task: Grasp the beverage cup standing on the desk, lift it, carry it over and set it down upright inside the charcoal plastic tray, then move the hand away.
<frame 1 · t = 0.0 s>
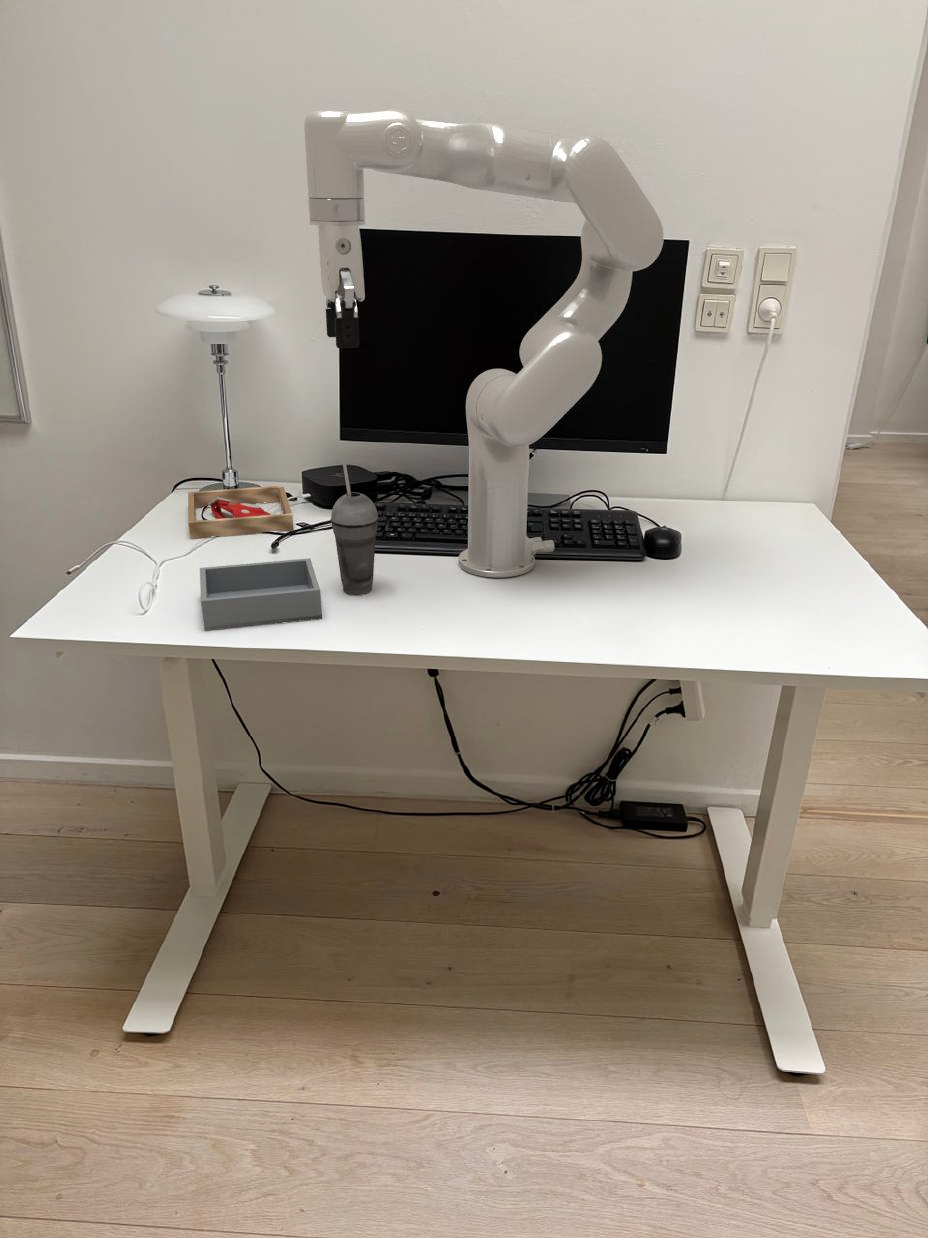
hand: (342, 341, 138), 37 cm above the table, tool pointing down, fingers open, 9 cm apart
beverage cup: (357, 590, 149), on the table
oak organiser frame: (240, 518, 179), on the table
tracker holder: (240, 521, 179), on the table
charcoal tray: (261, 607, 143), on the table
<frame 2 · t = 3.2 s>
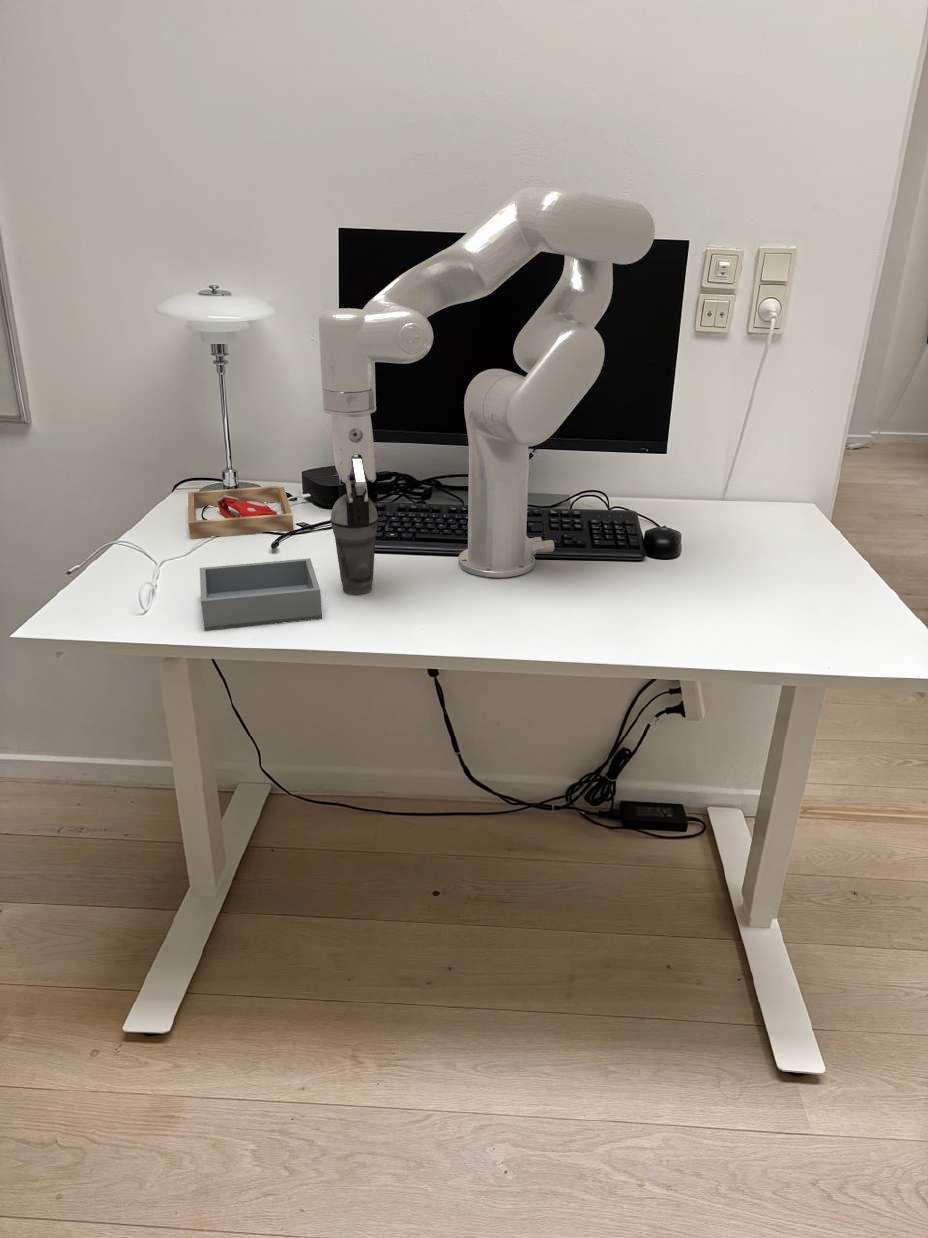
hand: (354, 517, 144), 12 cm above the table, tool pointing down, fingers closed on beverage cup, 7 cm apart
beverage cup: (357, 590, 149), on the table, touching gripper
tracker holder: (247, 519, 180), on the table
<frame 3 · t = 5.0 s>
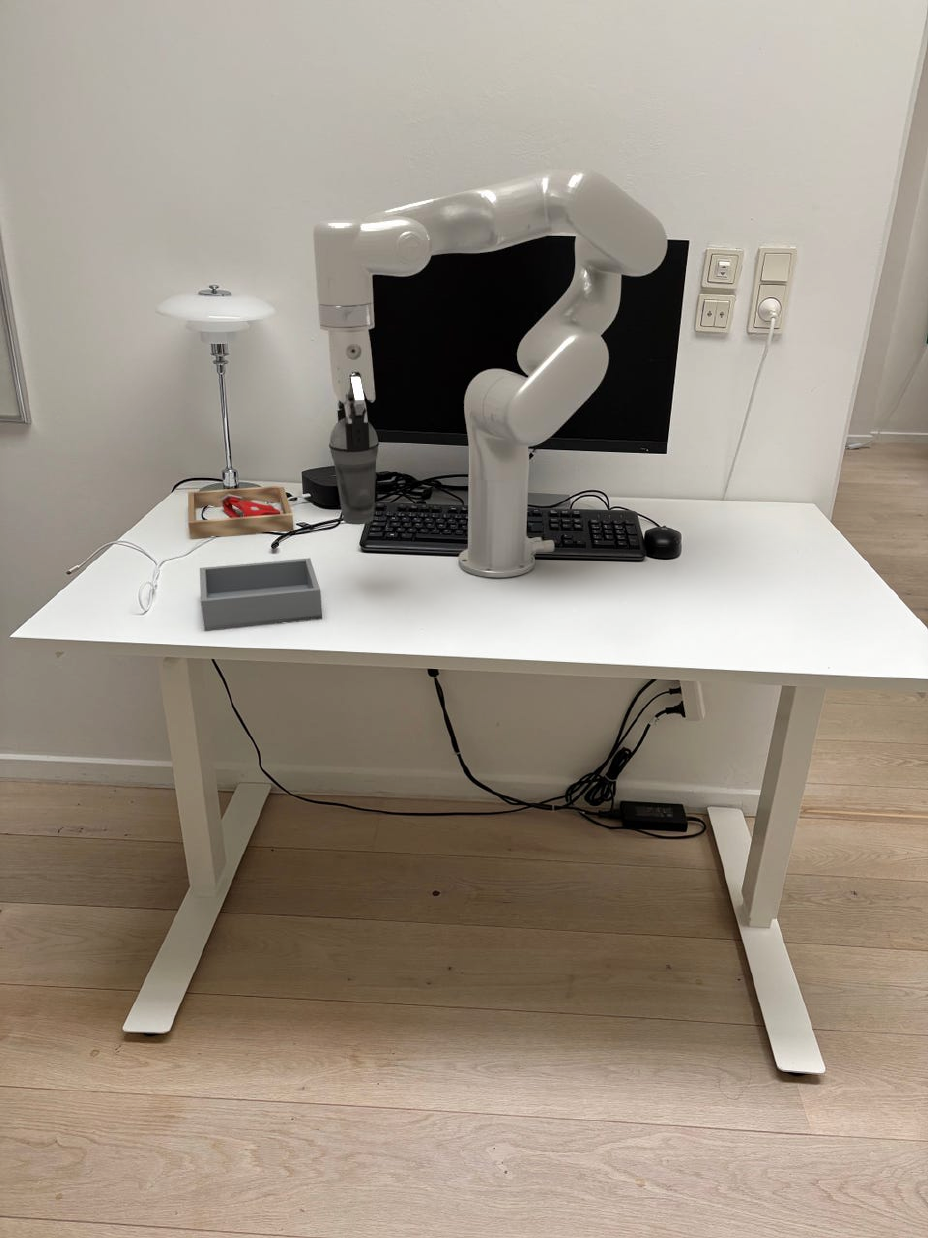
hand: (354, 442, 140), 23 cm above the table, tool pointing down, fingers closed on beverage cup, 7 cm apart
beverage cup: (358, 520, 145), point 11 cm above the table, touching gripper
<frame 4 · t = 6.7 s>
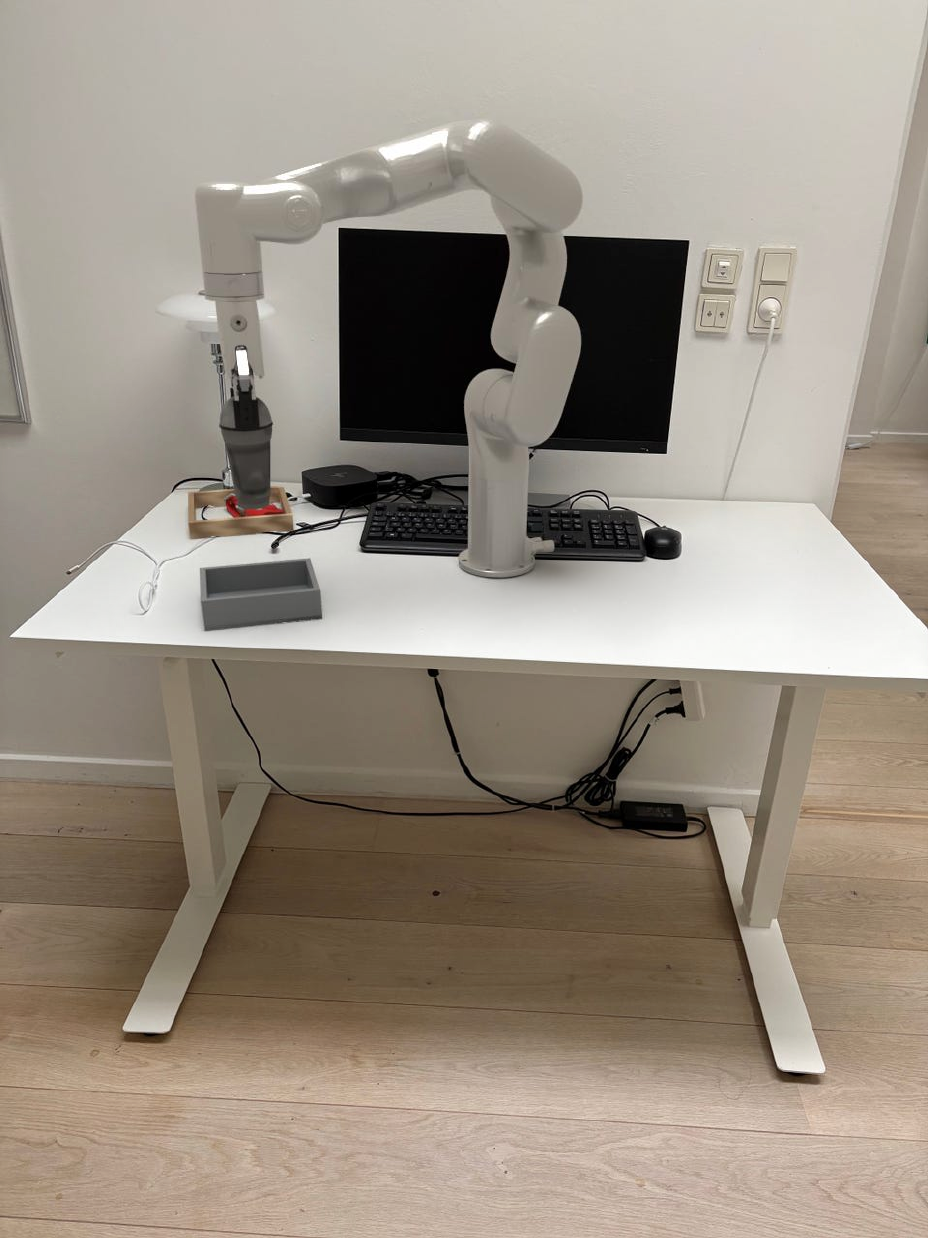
hand: (246, 421, 131), 28 cm above the table, tool pointing down, fingers closed on beverage cup, 7 cm apart
beverage cup: (253, 505, 137), point 16 cm above the table, touching gripper
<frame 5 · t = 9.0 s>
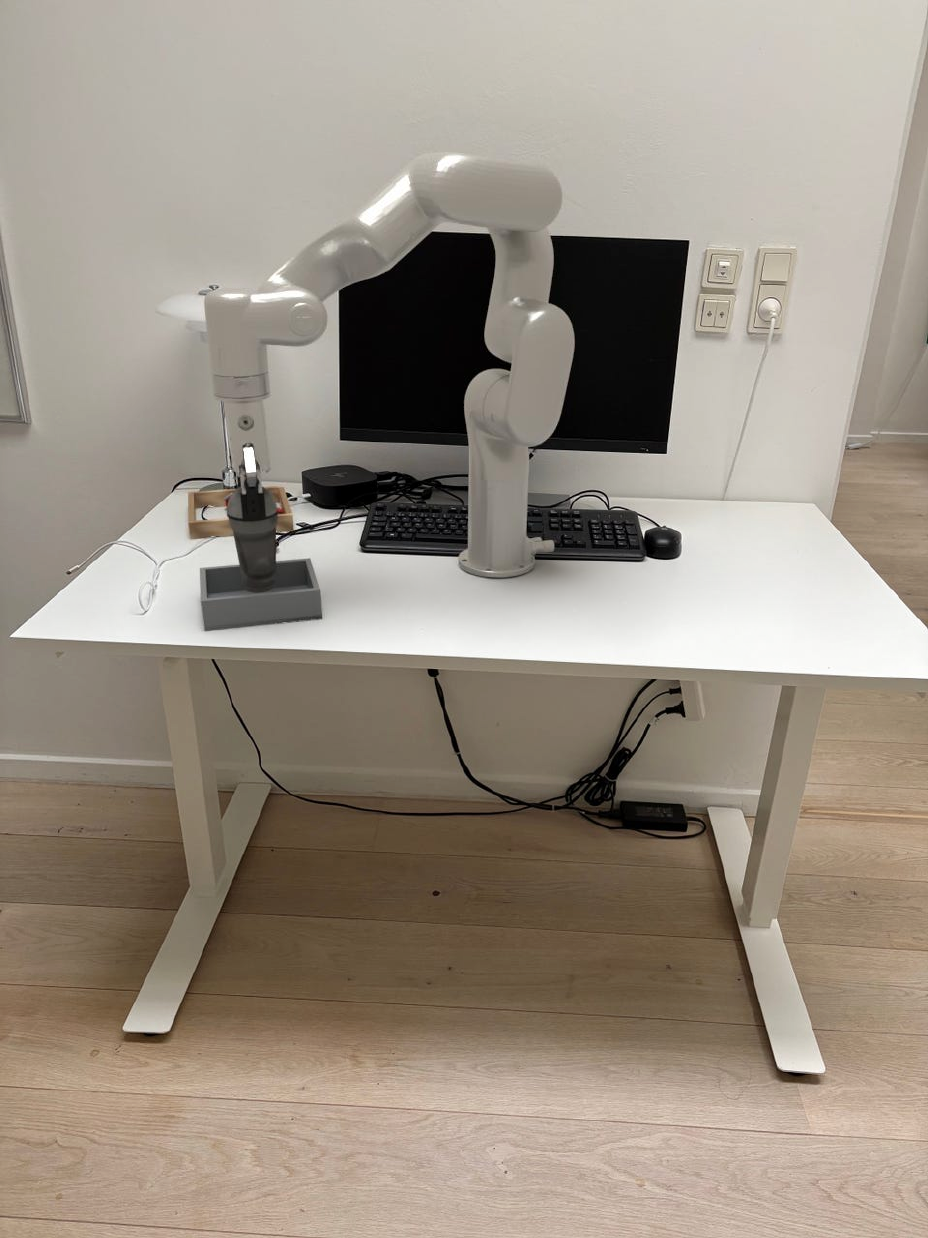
hand: (252, 510, 137), 15 cm above the table, tool pointing down, fingers closed on beverage cup, 7 cm apart
beverage cup: (260, 587, 142), point 3 cm above the table, touching gripper
when the fingers open (15 cm above the table, at t = 10.1 s): beverage cup drops 2 cm, resting on charcoal tray.
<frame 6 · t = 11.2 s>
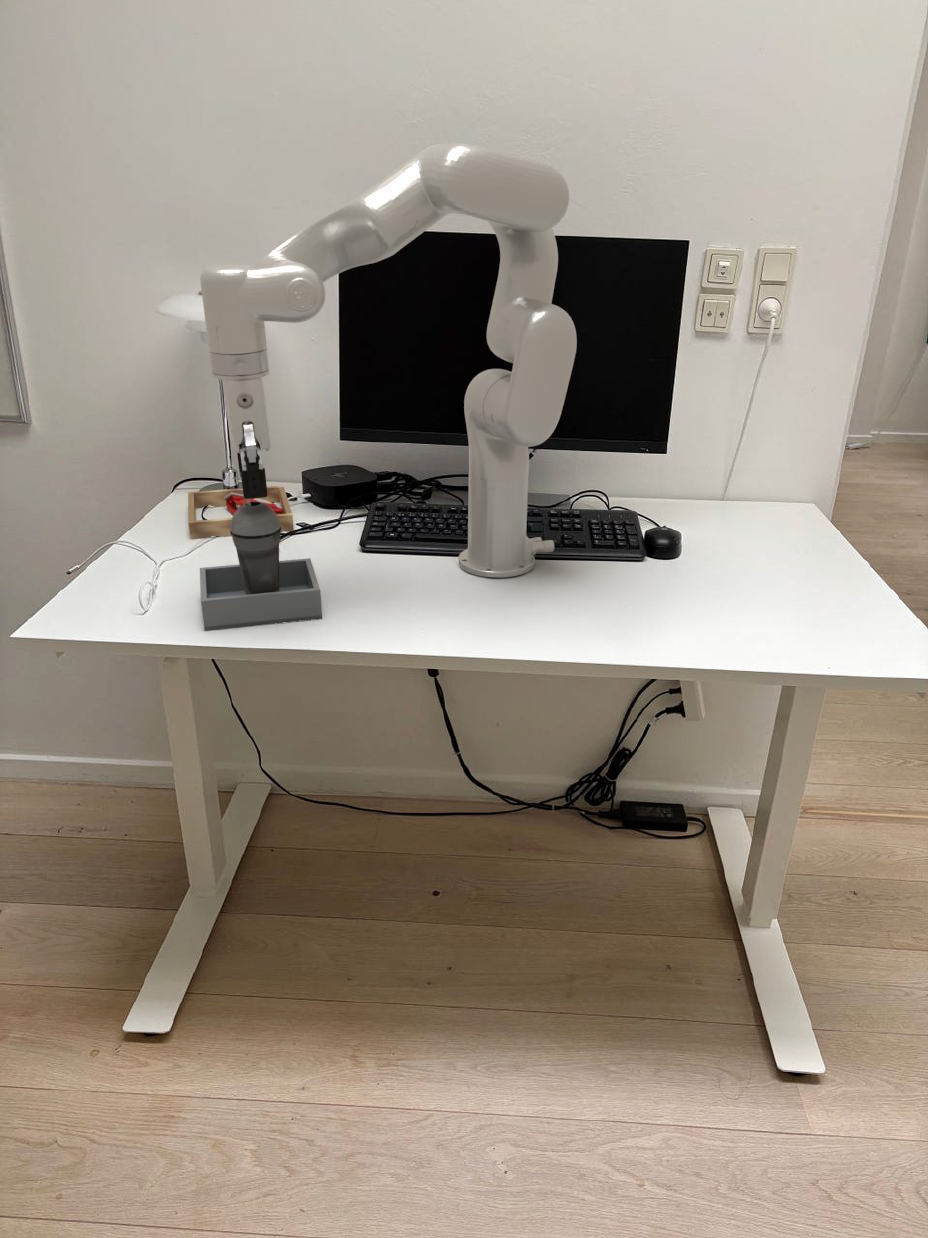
hand: (253, 486, 135), 19 cm above the table, tool pointing down, fingers open, 9 cm apart
beverage cup: (263, 604, 143), resting on charcoal tray
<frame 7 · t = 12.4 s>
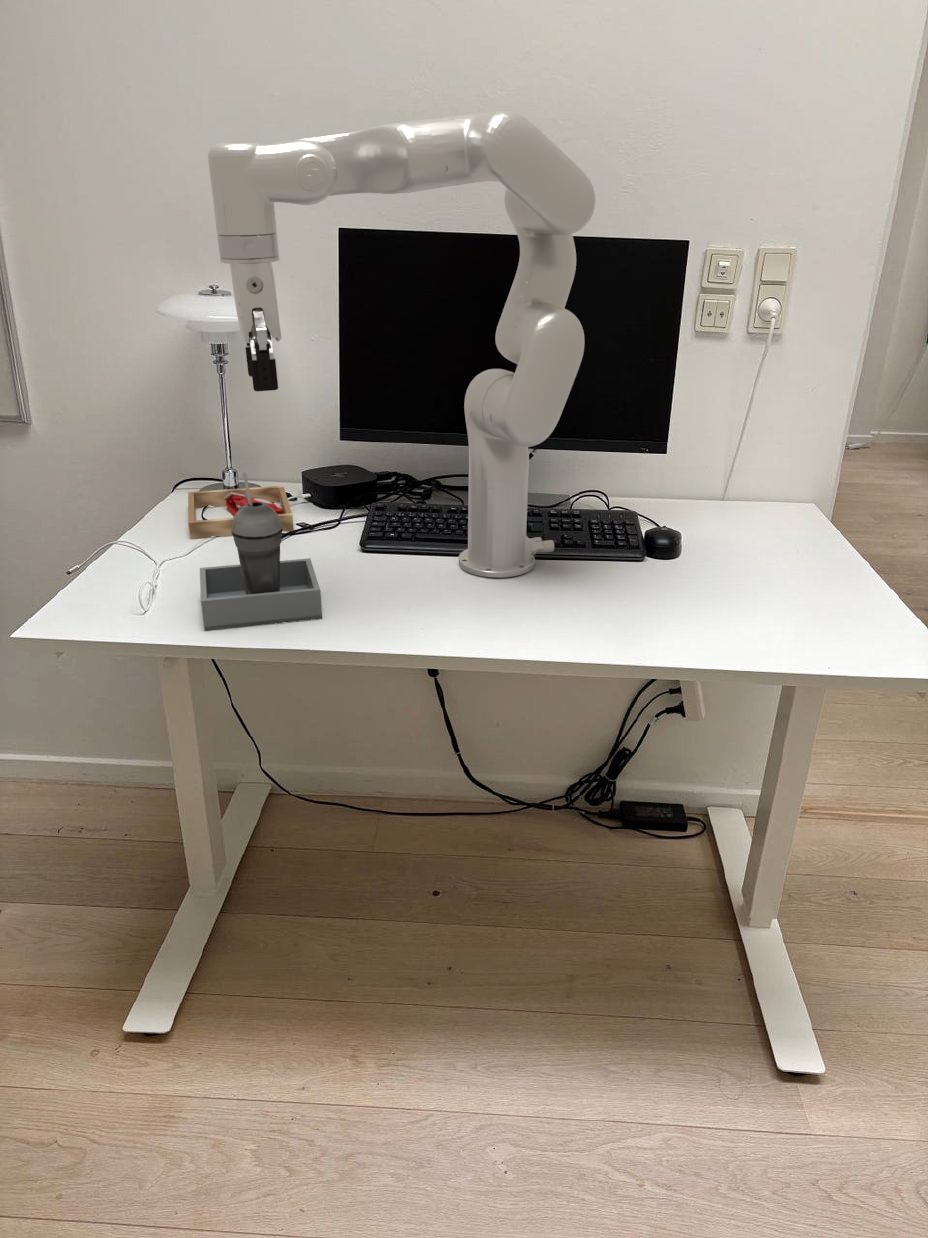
hand: (263, 382, 131), 33 cm above the table, tool pointing down, fingers open, 9 cm apart
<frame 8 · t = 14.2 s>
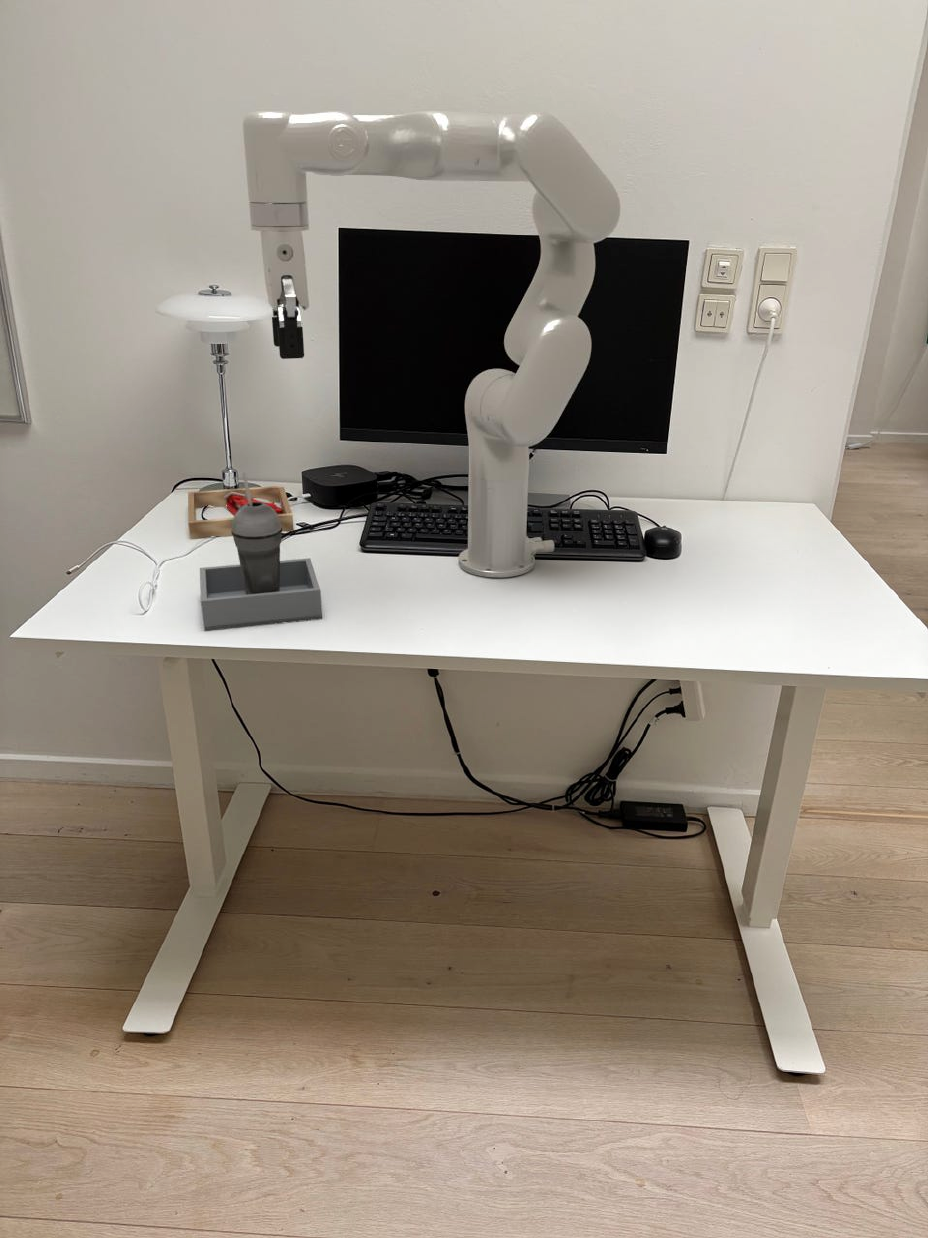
hand: (288, 351, 133), 36 cm above the table, tool pointing down, fingers open, 9 cm apart
at the end: beverage cup inside the target area on the charcoal tray (0.4 cm from its centre), point 0.4 cm above the charcoal tray's base; beverage cup tilted 0°; the gripper is holding nothing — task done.
